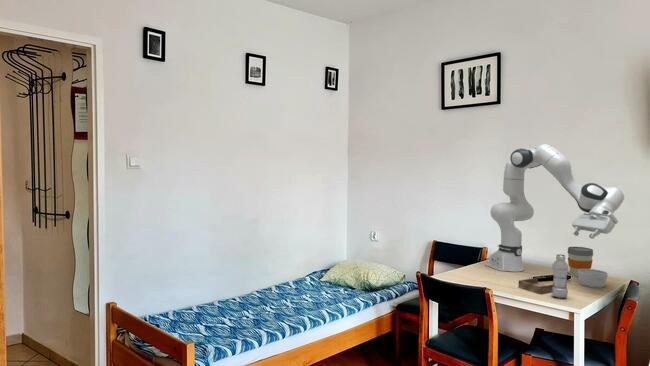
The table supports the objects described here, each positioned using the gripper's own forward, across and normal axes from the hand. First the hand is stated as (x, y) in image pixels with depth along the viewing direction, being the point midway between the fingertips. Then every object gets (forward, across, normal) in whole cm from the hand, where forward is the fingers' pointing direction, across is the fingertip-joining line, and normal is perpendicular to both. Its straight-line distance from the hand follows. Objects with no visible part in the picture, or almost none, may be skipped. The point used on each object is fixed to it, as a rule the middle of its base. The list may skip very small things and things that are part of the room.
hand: (582, 236), depth 222 cm
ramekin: (+7, -11, +32) cm, 35 cm away
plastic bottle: (+30, +2, +9) cm, 32 cm away
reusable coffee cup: (+1, -28, +37) cm, 47 cm away
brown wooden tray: (+30, -12, +9) cm, 33 cm away
